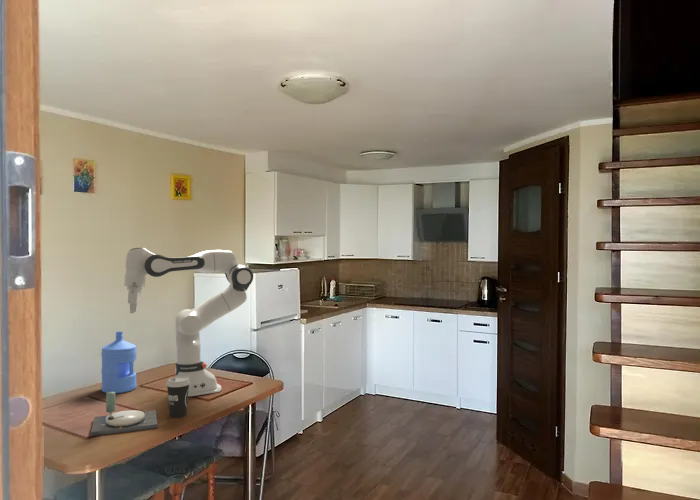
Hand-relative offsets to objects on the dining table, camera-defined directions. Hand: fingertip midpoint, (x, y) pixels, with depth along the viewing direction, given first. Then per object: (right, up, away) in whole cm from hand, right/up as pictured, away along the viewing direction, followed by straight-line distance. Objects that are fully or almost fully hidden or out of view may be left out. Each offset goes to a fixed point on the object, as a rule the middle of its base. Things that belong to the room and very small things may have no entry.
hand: (132, 312), depth 236 cm
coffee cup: (+28, -40, -23) cm, 54 cm away
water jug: (-13, -40, +14) cm, 44 cm away
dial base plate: (+11, -40, -34) cm, 54 cm away
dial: (+11, -38, -34) cm, 52 cm away
